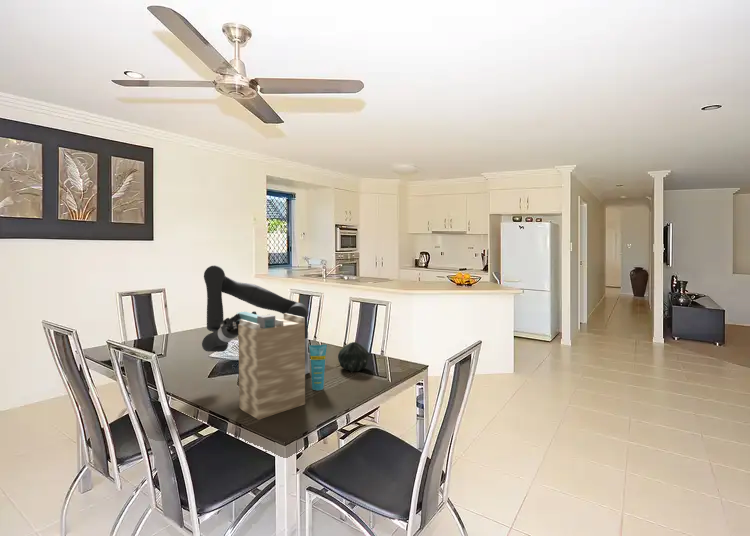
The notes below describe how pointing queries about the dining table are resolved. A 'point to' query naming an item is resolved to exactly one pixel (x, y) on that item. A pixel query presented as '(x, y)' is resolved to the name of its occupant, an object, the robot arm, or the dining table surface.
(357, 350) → the squash
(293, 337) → the notched wooden tower
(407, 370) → the dining table surface
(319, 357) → the tube
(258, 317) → the bar
